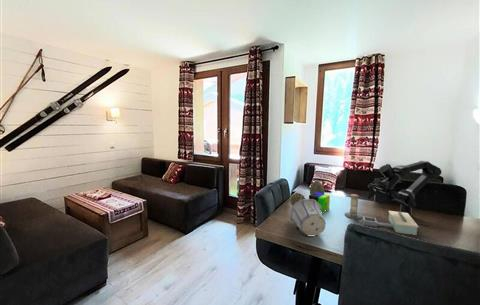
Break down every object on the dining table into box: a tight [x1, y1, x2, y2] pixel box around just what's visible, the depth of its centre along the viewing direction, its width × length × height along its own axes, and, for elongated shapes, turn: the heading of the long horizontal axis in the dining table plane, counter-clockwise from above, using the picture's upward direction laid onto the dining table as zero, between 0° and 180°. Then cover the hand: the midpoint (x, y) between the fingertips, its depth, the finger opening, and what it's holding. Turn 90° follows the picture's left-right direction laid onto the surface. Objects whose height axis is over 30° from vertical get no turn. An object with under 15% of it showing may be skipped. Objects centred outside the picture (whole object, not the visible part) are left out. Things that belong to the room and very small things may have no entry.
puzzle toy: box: [308, 192, 331, 213], centre depth 152 cm, size 10×10×10 cm
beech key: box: [349, 193, 360, 217], centre depth 140 cm, size 5×5×13 cm
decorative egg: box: [309, 180, 325, 195], centre depth 171 cm, size 11×11×15 cm
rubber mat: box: [344, 211, 363, 220], centre depth 141 cm, size 10×10×1 cm
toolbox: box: [361, 210, 419, 236], centre depth 128 cm, size 19×24×6 cm
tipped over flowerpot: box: [289, 192, 327, 236], centre depth 127 cm, size 18×18×30 cm
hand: (373, 201), depth 137 cm, fingers open, 9 cm apart
